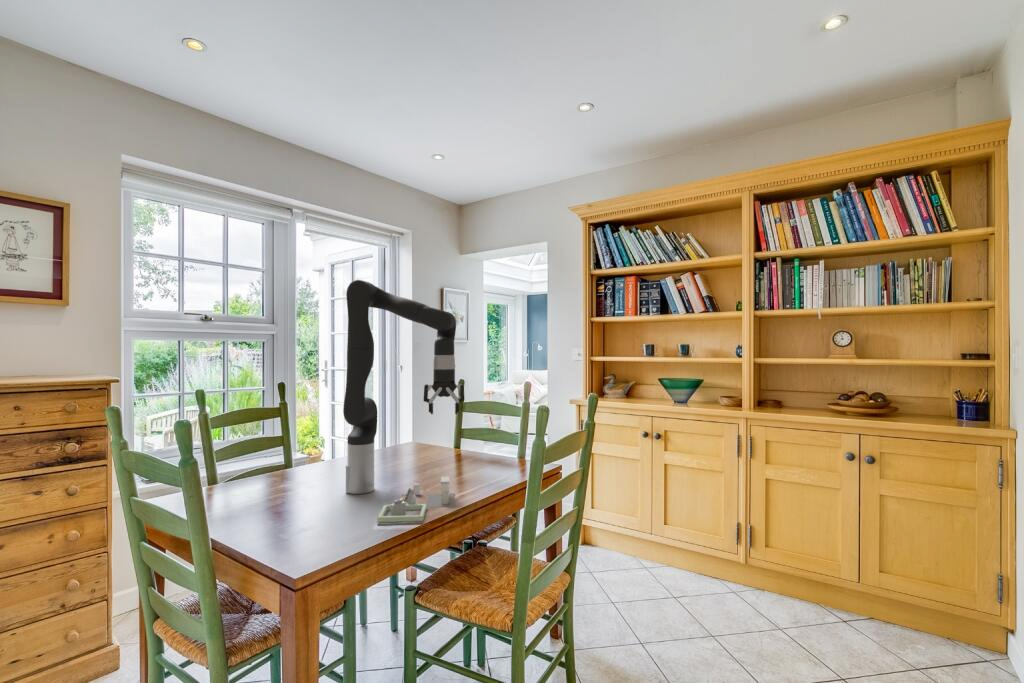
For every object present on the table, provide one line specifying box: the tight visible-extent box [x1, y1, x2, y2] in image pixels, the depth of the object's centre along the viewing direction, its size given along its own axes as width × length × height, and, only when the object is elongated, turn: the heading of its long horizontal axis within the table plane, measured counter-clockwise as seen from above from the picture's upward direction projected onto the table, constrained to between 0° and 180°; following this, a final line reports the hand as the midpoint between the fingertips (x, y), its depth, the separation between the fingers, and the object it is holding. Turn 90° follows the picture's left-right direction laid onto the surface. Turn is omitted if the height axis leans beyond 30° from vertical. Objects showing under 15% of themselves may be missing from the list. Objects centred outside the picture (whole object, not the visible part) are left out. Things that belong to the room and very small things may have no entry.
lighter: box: [390, 487, 415, 516], centre depth 147 cm, size 7×2×8 cm, turn 125°
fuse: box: [440, 476, 451, 503], centre depth 161 cm, size 3×6×7 cm, turn 5°
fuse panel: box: [399, 483, 456, 509], centre depth 161 cm, size 18×14×5 cm
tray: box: [376, 503, 427, 527], centre depth 147 cm, size 13×11×2 cm
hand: (444, 413), depth 172 cm, fingers open, 8 cm apart
